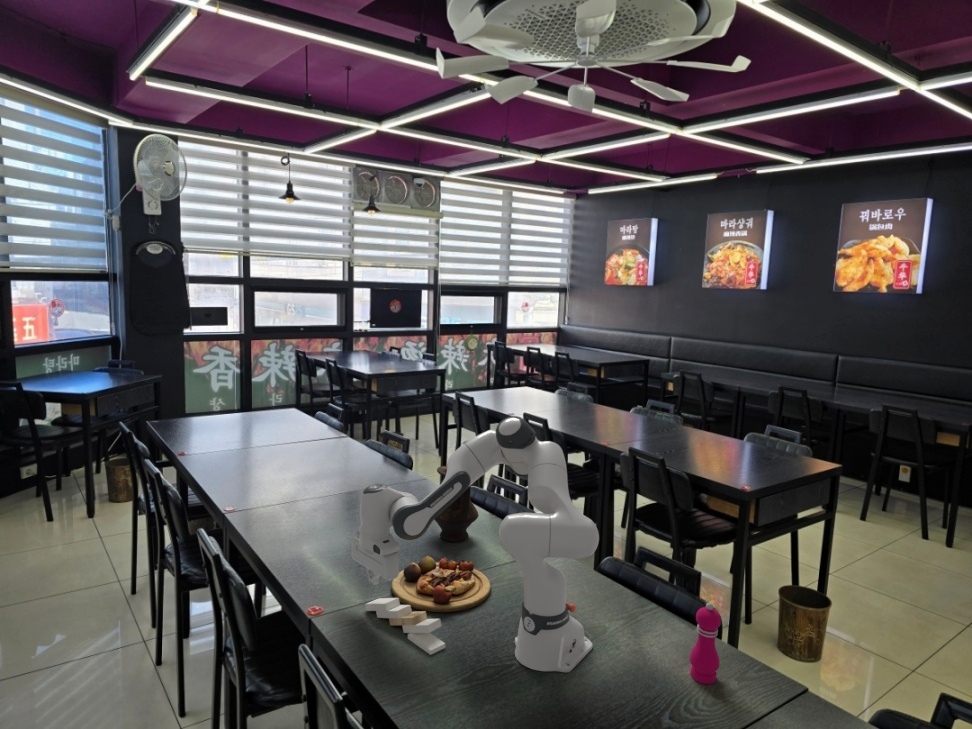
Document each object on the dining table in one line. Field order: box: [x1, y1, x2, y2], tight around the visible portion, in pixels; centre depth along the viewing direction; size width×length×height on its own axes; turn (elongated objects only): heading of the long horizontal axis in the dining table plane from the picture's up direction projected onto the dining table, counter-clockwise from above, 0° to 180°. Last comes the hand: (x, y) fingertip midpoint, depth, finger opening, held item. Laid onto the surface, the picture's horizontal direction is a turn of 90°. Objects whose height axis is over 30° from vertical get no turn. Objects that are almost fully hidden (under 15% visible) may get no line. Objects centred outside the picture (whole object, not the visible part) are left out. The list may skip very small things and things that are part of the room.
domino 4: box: [401, 618, 442, 634], centre depth 175 cm, size 5×2×10 cm
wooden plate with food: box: [390, 555, 492, 613], centre depth 202 cm, size 32×32×8 cm
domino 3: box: [388, 610, 428, 626], centre depth 178 cm, size 5×2×10 cm
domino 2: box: [375, 604, 413, 619], centre depth 182 cm, size 5×2×10 cm
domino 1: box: [365, 597, 401, 612], centre depth 185 cm, size 5×2×10 cm
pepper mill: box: [689, 602, 722, 685], centre depth 160 cm, size 7×7×20 cm
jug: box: [433, 465, 479, 543], centre depth 240 cm, size 21×18×30 cm
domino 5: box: [407, 632, 446, 656], centre depth 171 cm, size 5×2×10 cm
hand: (373, 583), depth 188 cm, fingers closed
